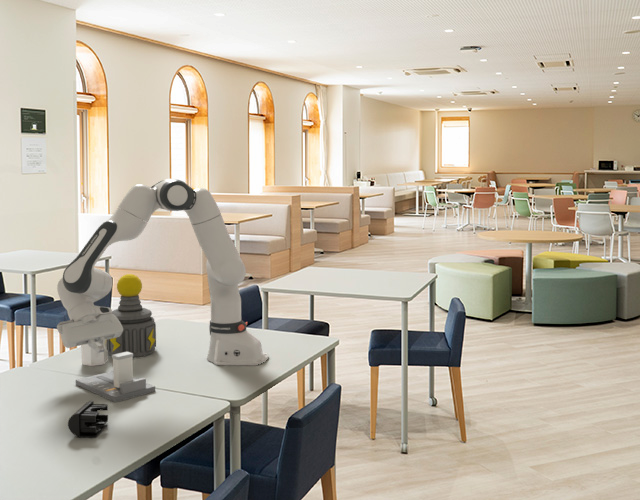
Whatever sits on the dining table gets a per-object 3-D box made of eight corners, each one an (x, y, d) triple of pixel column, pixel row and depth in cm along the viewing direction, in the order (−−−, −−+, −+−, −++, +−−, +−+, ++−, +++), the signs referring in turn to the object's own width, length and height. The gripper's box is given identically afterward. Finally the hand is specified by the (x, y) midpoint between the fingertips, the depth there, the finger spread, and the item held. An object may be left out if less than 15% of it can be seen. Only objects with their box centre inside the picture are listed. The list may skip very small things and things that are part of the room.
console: (75, 384, 218) (75, 370, 218) (114, 375, 228) (114, 361, 228) (115, 402, 202) (114, 387, 202) (155, 391, 212) (155, 377, 212)
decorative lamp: (94, 355, 252) (91, 276, 248) (126, 343, 269) (123, 269, 266) (137, 361, 245) (134, 279, 242) (166, 348, 263) (164, 272, 259)
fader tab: (112, 386, 211) (111, 354, 210) (128, 382, 215) (127, 351, 213) (118, 388, 208) (117, 357, 207) (134, 384, 212) (133, 353, 211)
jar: (85, 367, 237) (83, 334, 236) (79, 362, 244) (77, 329, 242) (110, 363, 242) (109, 330, 240) (104, 358, 249) (103, 326, 247)
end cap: (83, 424, 185) (82, 400, 184) (108, 424, 185) (108, 400, 184) (68, 438, 175) (67, 413, 174) (95, 439, 175) (94, 414, 174)
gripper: (57, 317, 216) (74, 352, 211) (115, 306, 231) (132, 339, 225) (51, 328, 220) (68, 363, 214) (108, 317, 234) (125, 350, 229)
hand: (101, 351), depth 220 cm, fingers closed
